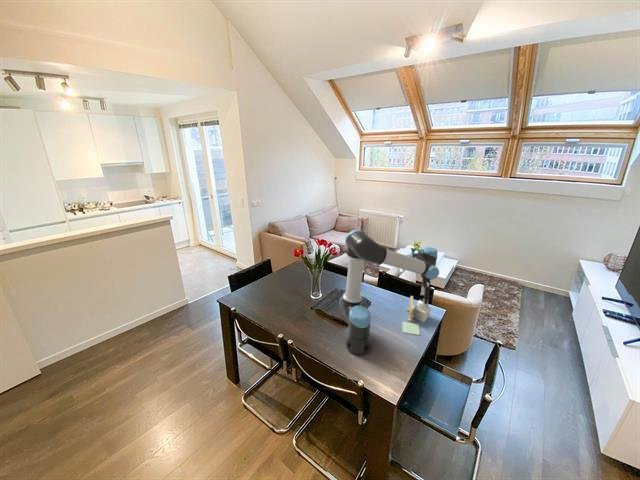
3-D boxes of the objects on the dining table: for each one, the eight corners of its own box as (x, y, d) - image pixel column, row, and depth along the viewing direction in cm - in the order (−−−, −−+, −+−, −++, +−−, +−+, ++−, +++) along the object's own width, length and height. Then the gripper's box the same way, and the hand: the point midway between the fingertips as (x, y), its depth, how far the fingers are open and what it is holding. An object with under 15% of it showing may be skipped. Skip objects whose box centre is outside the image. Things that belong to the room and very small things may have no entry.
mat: (402, 332, 162) (402, 332, 162) (402, 322, 171) (402, 321, 171) (420, 335, 160) (420, 334, 160) (418, 324, 169) (418, 324, 169)
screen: (407, 322, 171) (409, 307, 167) (407, 309, 184) (408, 295, 180) (414, 322, 170) (416, 308, 166) (413, 309, 183) (415, 296, 179)
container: (418, 312, 181) (420, 295, 176) (429, 317, 175) (431, 300, 171) (412, 317, 176) (414, 300, 171) (423, 322, 170) (426, 305, 166)
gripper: (437, 282, 151) (432, 313, 159) (431, 263, 173) (427, 291, 181) (423, 281, 153) (419, 311, 161) (419, 262, 175) (416, 289, 183)
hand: (423, 300), depth 171 cm, fingers open, 13 cm apart
